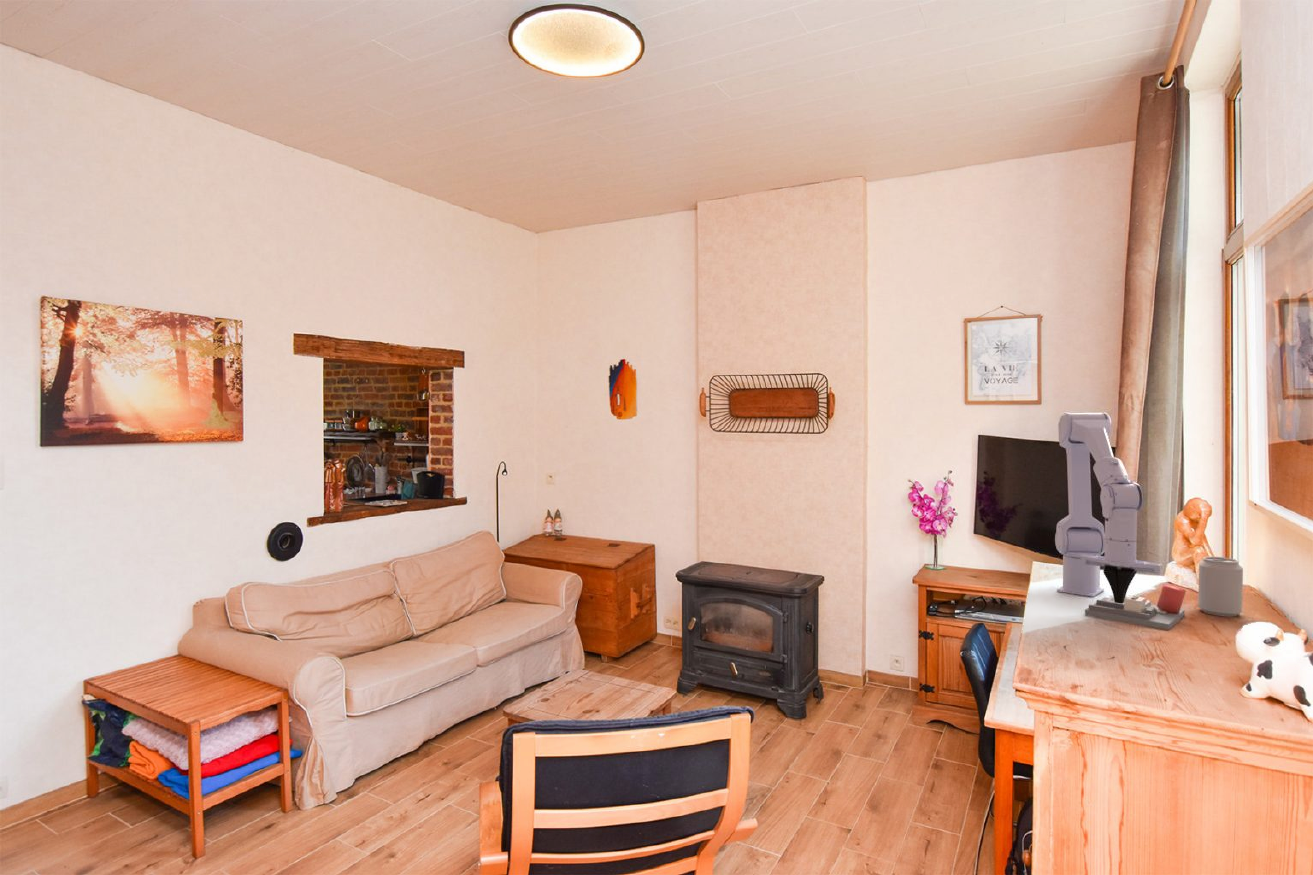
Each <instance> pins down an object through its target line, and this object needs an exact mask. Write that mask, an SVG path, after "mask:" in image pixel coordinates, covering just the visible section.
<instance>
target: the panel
mask: <svg viewBox="0 0 1313 875" xmlns="http://www.w3.org/2000/svg"><path fill="white" fill-rule="evenodd" d="M1126 597H1127V596H1125V598H1126ZM1095 601H1096V602H1095V603H1094V604H1088V607H1086V609H1084V616H1087V617H1091V618H1092V617H1093V618H1099V619H1104V620H1110V621H1115V622H1121V623H1126V624H1130V625H1131V624H1132V625H1137V626H1144V627H1150V628H1156V629H1159V630H1160V629H1161V630H1166V631H1170V630H1171V629H1172V628H1173V627H1174V626H1175V625H1176V624H1177V623H1179V621H1180V620H1182V618H1183V617H1184V616H1185V609H1182V608H1180V612H1179V613H1178V614H1175V613H1170V612H1166V611H1164V610H1161V609H1160V608H1158V607H1157V604H1151V601H1150V600H1149V599H1146V604H1145V613H1139V612H1133V611H1127V610H1124V603H1122V604H1121V603H1115V601H1114V596H1113V595H1111V596H1109V597H1105V596H1104V597H1103V598H1101V599H1096V600H1095Z"/></svg>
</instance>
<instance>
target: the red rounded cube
mask: <svg viewBox="0 0 1313 875" xmlns="http://www.w3.org/2000/svg"><path fill="white" fill-rule="evenodd" d="M1186 592H1187V590H1186V589H1185V588H1183V587H1180V586H1178V585H1175V584H1171V583H1163V584H1162V587H1161V591H1160V594H1159V597H1158V601H1157V604H1156V606H1157V607H1158V608H1160V609H1161V610H1164V611H1166V612H1170V613H1175V614H1178V613H1179V612H1180V609H1182V605H1183V601H1184V598H1185V595H1186Z"/></svg>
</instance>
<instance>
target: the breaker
mask: <svg viewBox="0 0 1313 875" xmlns="http://www.w3.org/2000/svg"><path fill="white" fill-rule="evenodd" d="M1125 597H1126V598H1124V610H1127V611H1133V612H1139V613H1145V604H1146V600H1147V599H1146V597H1143V596H1137V595H1127V596H1125Z"/></svg>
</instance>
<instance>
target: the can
mask: <svg viewBox="0 0 1313 875" xmlns="http://www.w3.org/2000/svg"><path fill="white" fill-rule="evenodd" d="M1239 563H1240V561H1239V560H1238V559H1234V558H1229V557H1225V556H1224V557H1223V556H1204V557H1202V561H1201V562H1200V563H1198V596H1197V597H1198V599H1197V600H1198V603H1197V604H1198V605H1197V606H1198V608H1200V609H1201V610H1202V612H1203V613H1206V614H1209V615H1213V616H1220V617H1230V618H1231V617H1232V618H1233V617H1237V616H1238V615H1240V614H1241V613H1242V612H1243V591H1244V590H1243V587H1244V585H1243V584H1244V583H1243V580H1244V578H1243V577H1244V568H1243V567H1242V566H1241V565H1240V564H1239Z"/></svg>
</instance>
